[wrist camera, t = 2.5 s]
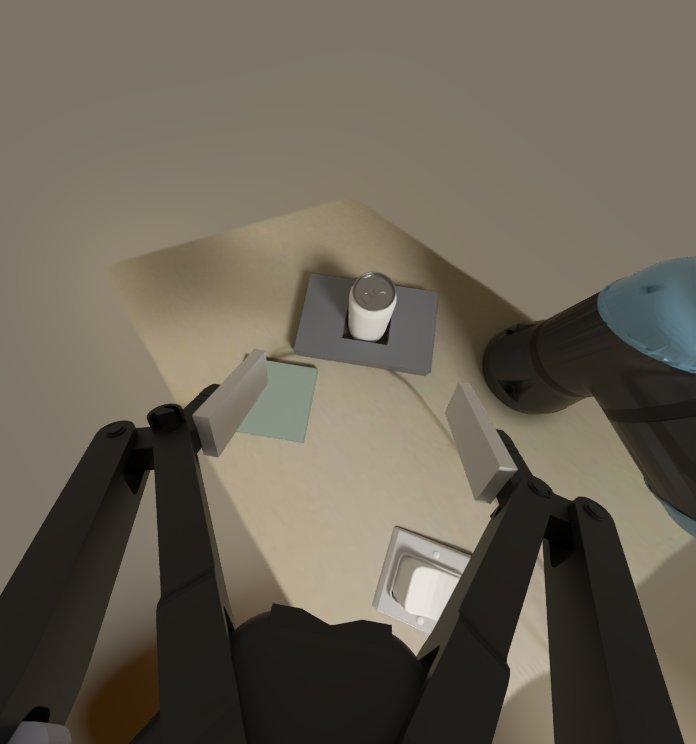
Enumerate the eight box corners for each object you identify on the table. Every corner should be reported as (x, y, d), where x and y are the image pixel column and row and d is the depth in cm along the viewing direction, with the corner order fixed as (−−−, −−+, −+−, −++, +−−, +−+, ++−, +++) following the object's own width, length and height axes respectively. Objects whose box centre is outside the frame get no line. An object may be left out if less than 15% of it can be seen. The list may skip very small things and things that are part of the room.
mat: (318, 370, 42) (317, 368, 41) (303, 442, 39) (302, 443, 38) (249, 358, 42) (246, 357, 41) (230, 430, 39) (227, 430, 38)
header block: (432, 301, 44) (438, 292, 42) (425, 375, 42) (431, 372, 39) (313, 282, 45) (310, 272, 42) (297, 355, 42) (293, 349, 39)
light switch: (396, 533, 34) (490, 571, 32) (393, 522, 38) (476, 556, 36) (372, 621, 32) (471, 667, 30) (370, 600, 36) (458, 639, 34)
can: (392, 331, 43) (409, 295, 32) (363, 352, 42) (369, 323, 31) (369, 303, 44) (378, 260, 33) (341, 323, 43) (339, 286, 32)
